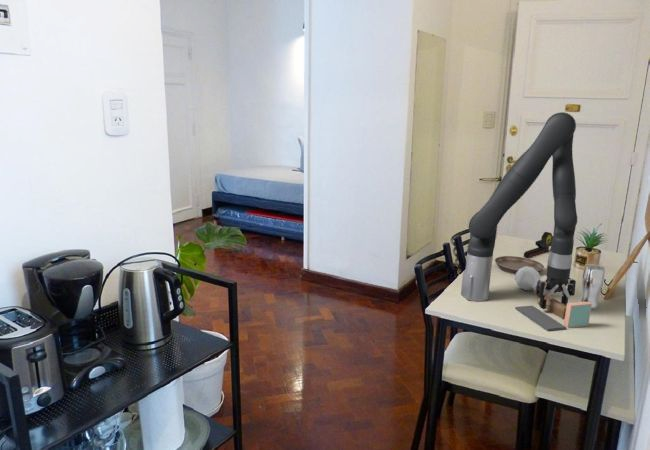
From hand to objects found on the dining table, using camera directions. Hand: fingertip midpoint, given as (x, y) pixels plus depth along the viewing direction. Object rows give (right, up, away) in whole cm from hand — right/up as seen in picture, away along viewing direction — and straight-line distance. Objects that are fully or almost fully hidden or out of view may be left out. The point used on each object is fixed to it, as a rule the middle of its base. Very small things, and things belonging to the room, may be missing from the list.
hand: (553, 307), depth 179 cm
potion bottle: (0, +3, +18) cm, 18 cm away
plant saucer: (+5, +9, +44) cm, 46 cm away
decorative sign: (+25, +15, +69) cm, 75 cm away
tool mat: (-8, -3, -6) cm, 10 cm away
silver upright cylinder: (+16, 0, +6) cm, 17 cm away
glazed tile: (+3, -4, -11) cm, 12 cm away
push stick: (0, -2, 0) cm, 2 cm away
